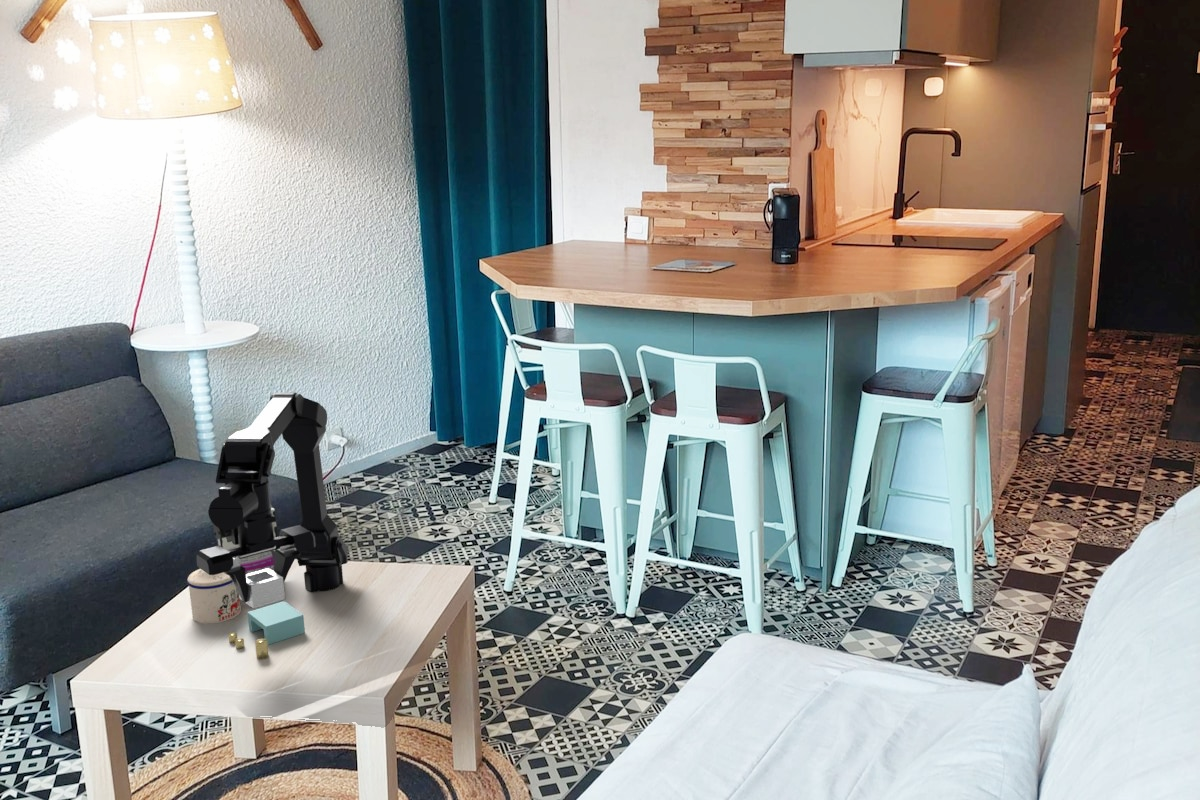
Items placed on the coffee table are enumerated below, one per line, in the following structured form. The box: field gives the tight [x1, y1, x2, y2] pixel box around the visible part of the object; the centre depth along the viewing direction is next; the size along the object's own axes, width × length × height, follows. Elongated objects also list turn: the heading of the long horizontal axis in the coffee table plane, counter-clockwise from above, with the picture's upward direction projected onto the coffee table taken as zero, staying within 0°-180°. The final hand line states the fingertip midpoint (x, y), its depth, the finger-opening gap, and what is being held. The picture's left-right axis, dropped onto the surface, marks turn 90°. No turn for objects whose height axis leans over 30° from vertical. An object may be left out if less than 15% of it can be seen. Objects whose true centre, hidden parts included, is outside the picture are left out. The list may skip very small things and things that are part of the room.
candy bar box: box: [217, 504, 279, 574], centre depth 219 cm, size 11×5×16 cm, turn 118°
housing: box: [247, 600, 306, 646], centre depth 198 cm, size 7×8×4 cm
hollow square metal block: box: [239, 568, 286, 610], centre depth 186 cm, size 6×6×4 cm
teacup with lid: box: [186, 568, 242, 624], centre depth 206 cm, size 12×9×12 cm
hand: (261, 596), depth 186 cm, fingers closed on hollow square metal block, 6 cm apart
